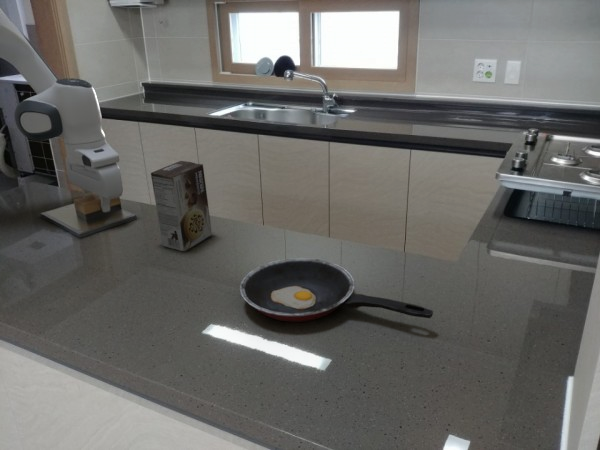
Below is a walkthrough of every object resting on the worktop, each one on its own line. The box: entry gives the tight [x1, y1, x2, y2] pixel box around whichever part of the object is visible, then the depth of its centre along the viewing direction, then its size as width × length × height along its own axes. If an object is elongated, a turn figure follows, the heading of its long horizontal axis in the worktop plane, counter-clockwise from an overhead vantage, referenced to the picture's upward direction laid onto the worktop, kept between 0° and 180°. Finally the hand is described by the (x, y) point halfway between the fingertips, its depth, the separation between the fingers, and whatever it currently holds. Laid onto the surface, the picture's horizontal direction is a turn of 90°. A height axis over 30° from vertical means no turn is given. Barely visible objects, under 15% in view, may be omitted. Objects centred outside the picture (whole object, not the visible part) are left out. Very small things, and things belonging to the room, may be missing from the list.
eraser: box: [73, 193, 123, 221], centre depth 127 cm, size 5×9×4 cm, turn 137°
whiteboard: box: [40, 202, 137, 239], centre depth 128 cm, size 20×14×1 cm
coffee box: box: [150, 160, 213, 252], centre depth 110 cm, size 9×6×16 cm
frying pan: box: [239, 257, 434, 323], centre depth 86 cm, size 19×32×4 cm, turn 61°
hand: (99, 208), depth 128 cm, fingers closed on eraser, 5 cm apart
